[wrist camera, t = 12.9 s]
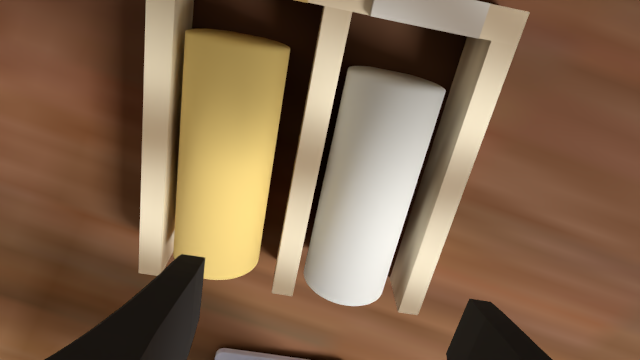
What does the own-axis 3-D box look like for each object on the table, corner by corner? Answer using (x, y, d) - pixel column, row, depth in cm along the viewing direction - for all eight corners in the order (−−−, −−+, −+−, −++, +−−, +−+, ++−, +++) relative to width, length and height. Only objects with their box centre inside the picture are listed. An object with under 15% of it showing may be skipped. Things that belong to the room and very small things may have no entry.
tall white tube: (382, 264, 23) (383, 314, 20) (310, 247, 24) (297, 293, 20) (439, 80, 19) (452, 101, 16) (350, 61, 20) (344, 77, 16)
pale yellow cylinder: (264, 238, 23) (251, 286, 19) (188, 224, 23) (160, 271, 19) (294, 43, 19) (284, 58, 15) (202, 24, 19) (169, 35, 15)
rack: (407, 280, 24) (419, 320, 21) (157, 241, 23) (135, 278, 20) (501, 7, 18) (534, 12, 15) (172, -64, 17) (143, -72, 14)
